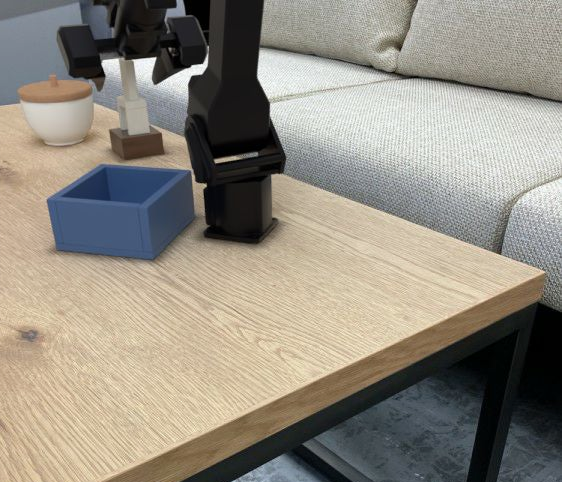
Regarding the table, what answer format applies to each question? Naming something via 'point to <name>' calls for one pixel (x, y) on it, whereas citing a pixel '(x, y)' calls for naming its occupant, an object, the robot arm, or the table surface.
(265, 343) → the table surface
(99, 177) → the box
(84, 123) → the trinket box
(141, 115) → the white bracket
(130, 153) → the block
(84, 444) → the table surface
